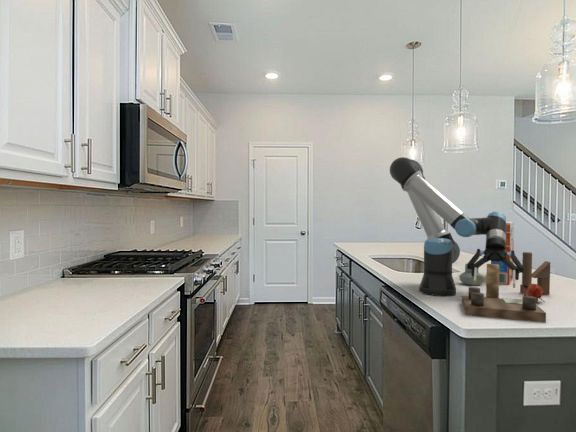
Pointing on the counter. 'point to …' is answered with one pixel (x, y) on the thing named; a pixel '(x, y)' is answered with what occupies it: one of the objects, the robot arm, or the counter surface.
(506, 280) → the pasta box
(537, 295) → the pomegranate
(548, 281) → the brown wooden angled piece
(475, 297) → the wooden board with knobs
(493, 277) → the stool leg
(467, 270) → the air freshener
